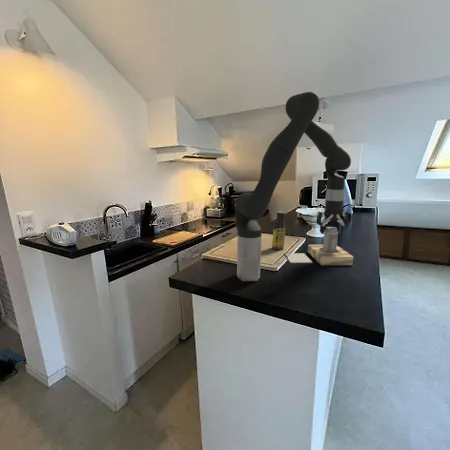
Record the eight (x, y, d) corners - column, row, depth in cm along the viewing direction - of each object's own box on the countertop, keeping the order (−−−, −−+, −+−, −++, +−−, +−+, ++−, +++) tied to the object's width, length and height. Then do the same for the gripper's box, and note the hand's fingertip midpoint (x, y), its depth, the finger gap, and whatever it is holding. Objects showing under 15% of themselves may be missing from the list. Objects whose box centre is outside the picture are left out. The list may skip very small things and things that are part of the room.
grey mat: (312, 262, 118) (312, 262, 118) (290, 263, 118) (290, 262, 118) (303, 254, 130) (304, 253, 130) (284, 254, 130) (284, 253, 130)
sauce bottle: (275, 251, 135) (276, 213, 130) (269, 247, 141) (271, 211, 136) (286, 249, 136) (288, 212, 132) (280, 246, 142) (282, 210, 138)
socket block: (352, 265, 116) (353, 256, 115) (321, 265, 116) (322, 256, 115) (334, 251, 133) (335, 244, 133) (307, 252, 133) (308, 244, 132)
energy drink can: (331, 255, 128) (334, 226, 124) (337, 260, 122) (341, 229, 119) (319, 256, 127) (322, 226, 124) (325, 260, 121) (328, 229, 118)
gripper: (322, 200, 114) (319, 235, 118) (354, 200, 115) (350, 235, 118) (315, 198, 121) (313, 231, 125) (345, 197, 122) (342, 231, 126)
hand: (331, 233), depth 122 cm, fingers open, 8 cm apart
